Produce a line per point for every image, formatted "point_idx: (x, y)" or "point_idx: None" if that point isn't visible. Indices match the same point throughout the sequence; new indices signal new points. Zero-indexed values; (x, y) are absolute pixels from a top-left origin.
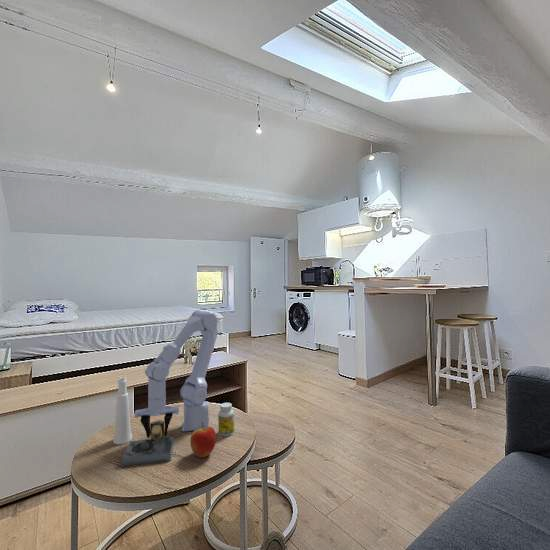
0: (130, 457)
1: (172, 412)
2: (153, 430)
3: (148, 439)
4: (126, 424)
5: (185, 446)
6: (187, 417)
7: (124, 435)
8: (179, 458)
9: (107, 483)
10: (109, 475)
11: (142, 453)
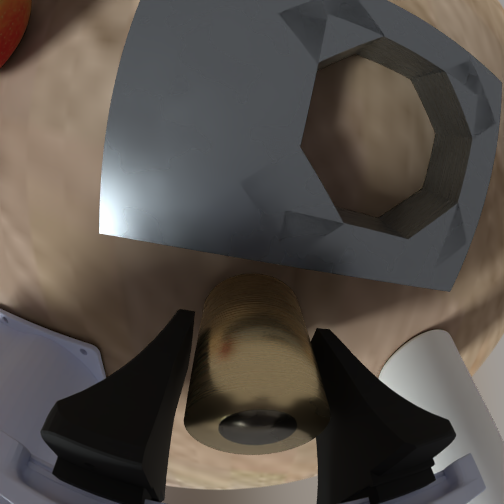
0: (468, 52)
1: (58, 481)
2: (300, 355)
3: (341, 274)
4: (454, 417)
5: (57, 149)
6: (45, 404)
7: (440, 364)
8: (114, 4)
9: (483, 7)
10: (493, 53)
11: (404, 37)
